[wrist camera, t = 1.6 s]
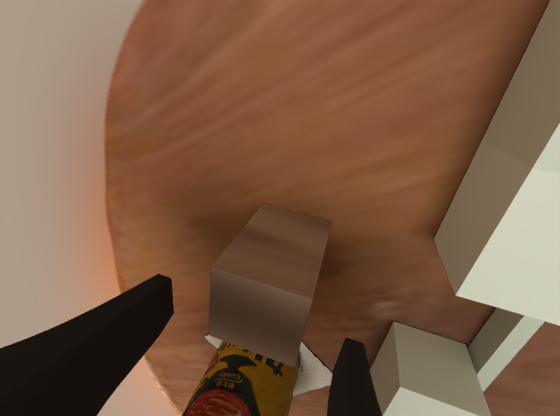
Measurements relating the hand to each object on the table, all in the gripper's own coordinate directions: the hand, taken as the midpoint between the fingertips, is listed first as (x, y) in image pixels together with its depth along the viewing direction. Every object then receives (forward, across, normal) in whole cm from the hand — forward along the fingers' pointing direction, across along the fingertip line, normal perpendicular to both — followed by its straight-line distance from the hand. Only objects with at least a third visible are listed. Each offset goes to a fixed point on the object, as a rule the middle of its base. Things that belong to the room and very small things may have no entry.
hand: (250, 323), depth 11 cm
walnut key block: (+6, 0, 0) cm, 6 cm away
